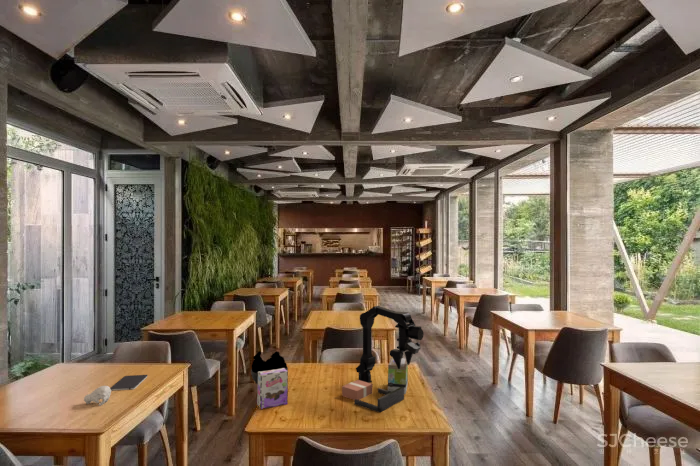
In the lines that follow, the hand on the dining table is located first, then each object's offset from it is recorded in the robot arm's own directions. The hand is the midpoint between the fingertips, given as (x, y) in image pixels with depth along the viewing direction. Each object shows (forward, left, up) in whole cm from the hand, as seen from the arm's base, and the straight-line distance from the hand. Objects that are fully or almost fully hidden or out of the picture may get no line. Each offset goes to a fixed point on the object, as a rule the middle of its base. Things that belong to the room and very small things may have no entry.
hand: (403, 366), depth 207 cm
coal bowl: (-62, -39, -15) cm, 75 cm away
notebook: (-127, -86, -15) cm, 154 cm away
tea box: (-7, +5, -15) cm, 17 cm away
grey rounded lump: (-109, -108, -15) cm, 154 cm away
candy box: (-42, -53, -15) cm, 69 cm away
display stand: (-5, -16, -14) cm, 22 cm away
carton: (-18, -16, -14) cm, 28 cm away
